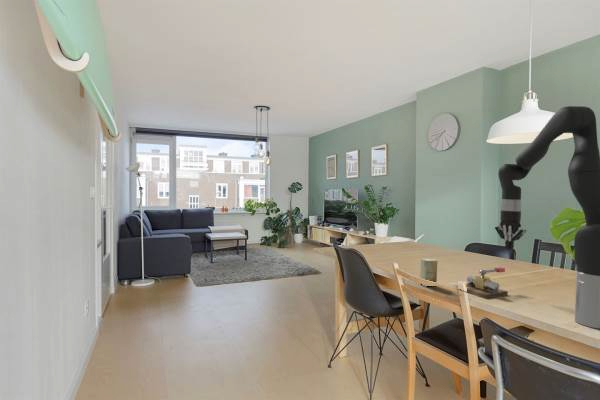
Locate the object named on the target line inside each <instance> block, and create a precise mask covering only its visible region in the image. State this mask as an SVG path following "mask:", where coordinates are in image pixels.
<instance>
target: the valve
mask: <svg viewBox="0 0 600 400" xmlns="http://www.w3.org/2000/svg"><path fill="white" fill-rule="evenodd" d="M466 281H467V284H466V285H467V286H469V287H476V288H479V289H482V290H485V289H488V293H491V294H495V293H498V289H500V284H499V283H498V282H496V281H492V280H491V277H487V276H485V274H480V275H475V276H473V275H471V274H470V275H468V276H467V277H466Z"/></svg>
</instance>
